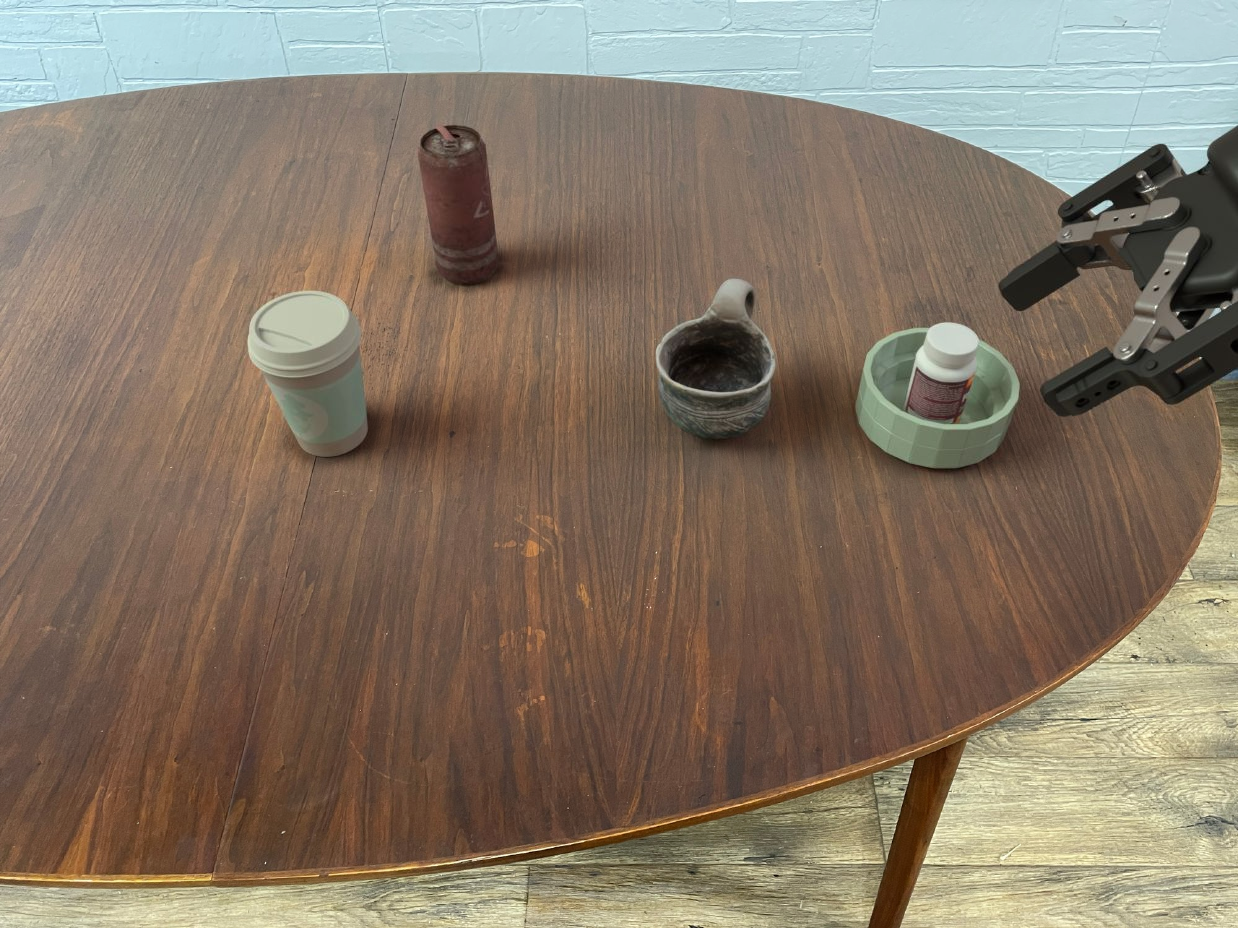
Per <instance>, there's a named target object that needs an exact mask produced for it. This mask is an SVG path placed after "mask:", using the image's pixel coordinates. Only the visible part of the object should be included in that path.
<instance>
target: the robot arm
mask: <svg viewBox="0 0 1238 928" xmlns="http://www.w3.org/2000/svg"><path fill="white" fill-rule="evenodd" d="M1206 156H1207V157H1206V158H1207V160H1208V161H1207V163H1206V164H1205V165H1204V166H1203V167H1201V168H1200V169H1198V170H1195V171H1192V172H1191V173H1188V174H1187V173H1186V171H1185V170H1184V168H1183V167H1182V166H1181V164H1180V162H1179V161H1178V160H1177V158H1176V157H1175V155H1174V154H1173V153H1172V152H1171V150H1170V148H1169V147H1168V146H1167V145H1166V144H1165V143H1157V144H1154V145H1152V146H1150V147H1149V148H1147V149H1145V150H1144V151H1143V152H1141V153H1139V154H1138V155H1136V156H1134V157H1133V158H1132V159H1130V160H1129V161H1128V160H1127V162H1125V163H1124V164H1122V165H1121V166H1119V167H1117V168H1116V169H1114V170H1112V171H1111V172H1109V173H1107V174H1106V175H1105V176H1103V177H1101V178H1100V179H1098V180H1097V181H1095V182H1094V183H1092V184H1090V185H1089V186H1087V187H1086V188H1084V189H1083V190H1081V191H1079V192H1078V193H1076V194H1074V195H1073V196H1071V197H1070V198H1068V199H1066V200H1065V201H1064V202H1062V203H1061V204H1060V205H1059V207H1058V209H1057V215H1058V216H1059V218H1060V219H1061V229H1059V231H1058V232H1057V234H1056V235H1055V240H1054V242H1052V243H1050V244H1049V245H1047V246H1046V247H1044V248H1043V249H1042V250H1040V251H1039V252H1037V253H1035V254H1033V255H1032V256H1031V257H1030V258H1027V260H1025V261H1023V263H1020V264H1019V265H1017V266H1015V267H1014V268H1013V269H1012V270H1010V272H1009V273H1008V274H1006V276H1005V277H1003V278H1002V279H1001V280H1000V281H999V282H998V287H997V288H998V290H999V292H1000V295H1001V297H1002V298H1003V300H1005V301H1006V302H1007V303H1008V304H1009V305H1010V307H1012V309H1014V311H1017V312H1023V311H1026V310H1028V309H1030V308H1032V307H1033V306H1034V305H1036V304H1037V303H1039V302H1041V301H1042V300H1044V299H1045V298H1046V297H1048V296H1051V294H1053V293H1055V292H1056V291H1058V290H1059V289H1061V288H1063V287H1064V286H1066V285H1067V284H1069V283H1071V282H1072V281H1073V280H1075V279H1077V278H1079V277H1080V276H1081V274H1080V271H1079V270H1090V269H1091V270H1092V269H1099V268H1107V267H1108V268H1109V267H1116V268H1118V269H1120V270H1123V271H1131V272H1132V274H1133V280H1134V282H1135V284H1136V286H1137V287H1138V289H1139V290H1140V291H1141V293H1140V295H1139V296H1138V297H1137V299H1136V301H1134V305H1133V318H1132V320H1131V321H1130V323H1129V324H1128V326H1127V327H1126V329H1125V330H1124V332H1123V333H1122V335H1121V336H1120V337H1119V339H1118V340H1117V342H1116V343H1115V345H1114V346H1113V348H1112V351H1111V350H1110V349H1109V348H1108V347H1107V346H1105V347H1103V348H1102V349H1100V350H1098V351H1096V352H1094V353H1093V354H1091V355H1089V356H1087V357H1085V358H1084V359H1082V360H1081V361H1079V362H1077V363H1075V364H1074V365H1072V366H1071V367H1069V368H1067V369H1065V370H1063V371H1062V372H1060V373H1059V374H1057V375H1055V376H1053V377H1052V378H1050V379H1049V380H1047V381H1045V382H1044V383H1042V384H1041V385H1040V387H1039V393H1040V395H1041V397H1042V399H1043V402H1044V403H1045V404H1046V405H1047V406H1048V408H1050V409H1051V410H1052V411H1053V412H1054V413H1055V415H1056V416H1058V417H1060V418H1061V417H1062V418H1065V417H1066V418H1067V417H1070V416H1071V417H1077V416H1081V415H1084V414H1086V413H1087V412H1089V411H1091V410H1093V409H1094V408H1097V407H1098V406H1100V405H1101V404H1103V403H1106V402H1107V401H1109V400H1111V399H1113V398H1115V397H1116V396H1118V395H1120V394H1122V393H1124V392H1125V391H1127V390H1130V389H1131V388H1134V387H1145V388H1146V389H1148V390H1149V391H1151V392H1152V393H1154V394H1155V395H1156V396H1158V397H1159V398H1160V400H1161V401H1162V402H1163V403H1165V405H1170V406H1172V405H1177V404H1180V403H1182V402H1183V401H1185V400H1187V399H1189V398H1191V397H1193V396H1194V395H1195V394H1197V393H1199V392H1200V391H1202V390H1204V389H1206V388H1207V387H1209V386H1210V385H1212V384H1214V383H1216V382H1217V381H1219V380H1221V379H1222V378H1225V377H1227V376H1228V375H1229V374H1231V373H1233V372H1235V371H1236V370H1238V124H1237V125H1235V126H1234V127H1232V128H1231V129H1229V130H1228V131H1227V132H1225V133H1224V134H1222V135H1221V136H1219V137H1217V138H1216V139H1215V140H1213V141H1212V142H1211V143H1210V144H1209V146H1208V147H1207V149H1206ZM1107 201H1110V202H1111V203H1112V205H1110V206H1108V207H1107V208H1105V209H1103V210H1102V211H1100V212H1099V213H1097V214H1095V215H1093V216H1092V215H1091V214H1090V213H1089V211H1091V210H1092V209H1094V208H1096V207H1097V206H1099V205H1101V204H1102V203H1104V202H1107ZM1078 268H1079V270H1078ZM1216 309H1219V310H1220V311H1219V312H1217V313H1216V314H1214V315H1212V314H1213V313H1214V311H1215V310H1216ZM1174 313H1177V315H1176V314H1174ZM1196 359H1198V360H1197V361H1196V362H1194V363H1192V362H1193V361H1195V360H1196ZM1190 363H1192V364H1190ZM1188 364H1190V365H1189V366H1187V365H1188ZM1185 366H1186V367H1185ZM1183 367H1185V368H1184V369H1182V368H1183ZM1180 369H1181V371H1179V372H1177V371H1178V370H1180Z"/></svg>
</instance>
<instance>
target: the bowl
mask: <svg viewBox="0 0 1238 928" xmlns="http://www.w3.org/2000/svg"><path fill="white" fill-rule="evenodd" d="M930 328H931V327H912V328H909V329H904V330H900V331H896V332H893V333H891V334H888V335H887V336H885V337H884V338H882V339H880V340H878V341H876V343H875V344H874V345H873V346H872V347H871V349H870V350H869V351H868V352H867V354H866V356H865V360H864V364H863V367H862V373H861V378H860V381H859V387H858V391H857V397H856V400H855V406H854V409H855V412H856V417H857V422H858V424H859V426H860V428H861V429H862V430H863V432H864V434H865V435H866V436H867V437H868V439H869V440H870V441H871V442H872V443H874V444H875V445H876V446H878V447H879V448H880V449H881V450H882V451H883V452H885V453H887V454H889V455H891V456H893V457H895V458H897V459H899V460H901V461H904V462H906V463H907V464H912V465H916V466H921V467H926V468H931V469H959V468H962V467H966V466H970V465H974V464H978V463H980V462H982V461H983V460H985V459H987V458H988V457H990V456H991V455H992V454H994V453H995V452H996V451H997V450H998V448H999V447H1000V446H1001V443H1003V441H1004V439H1005V437H1006V435H1007V432H1008V429H1009V426H1010V424H1011V422H1012V418H1013V415H1014V413H1015V409H1016V407H1017V404H1018V401H1019V397H1020V387H1021V386H1020V385H1021V383H1020V380H1019V378H1018V375H1017V373H1016V370H1015V368H1014V366H1013V365H1012V364H1011V362H1009V360H1008V359H1007V358H1006V357H1005V356H1004V355H1003V354H1002V353H1001V352H1000V351H998V350H997V349H995V348H994V347H992V346H991V345H989V344H988V343H987V342H985V341H983V340H981V339H979V346H978V350H977V354H976V357H975V358H976V361H977V368H976V372H975V375H974V378H973V382H972V385H971V388H970V391H969V394H968V397H967V401H966V403H965V407H964V410H963V413H962V416H961V419H960V422H959V424H941V423H936V422H931V421H927V420H922V419H920V418H917V417H915V416H913V415H911V414H908V413H906V412H904V411H903V405H904V400H905V397H906V393H907V389H908V384H909V381H910V377H911V372H912V369H913V365H914V361H915V356H916V353H917V351H918V350H919V349H920V348H921V347H922V346H923V345H924V341H925V338H926V335H927V332H928V330H929V329H930Z"/></svg>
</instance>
